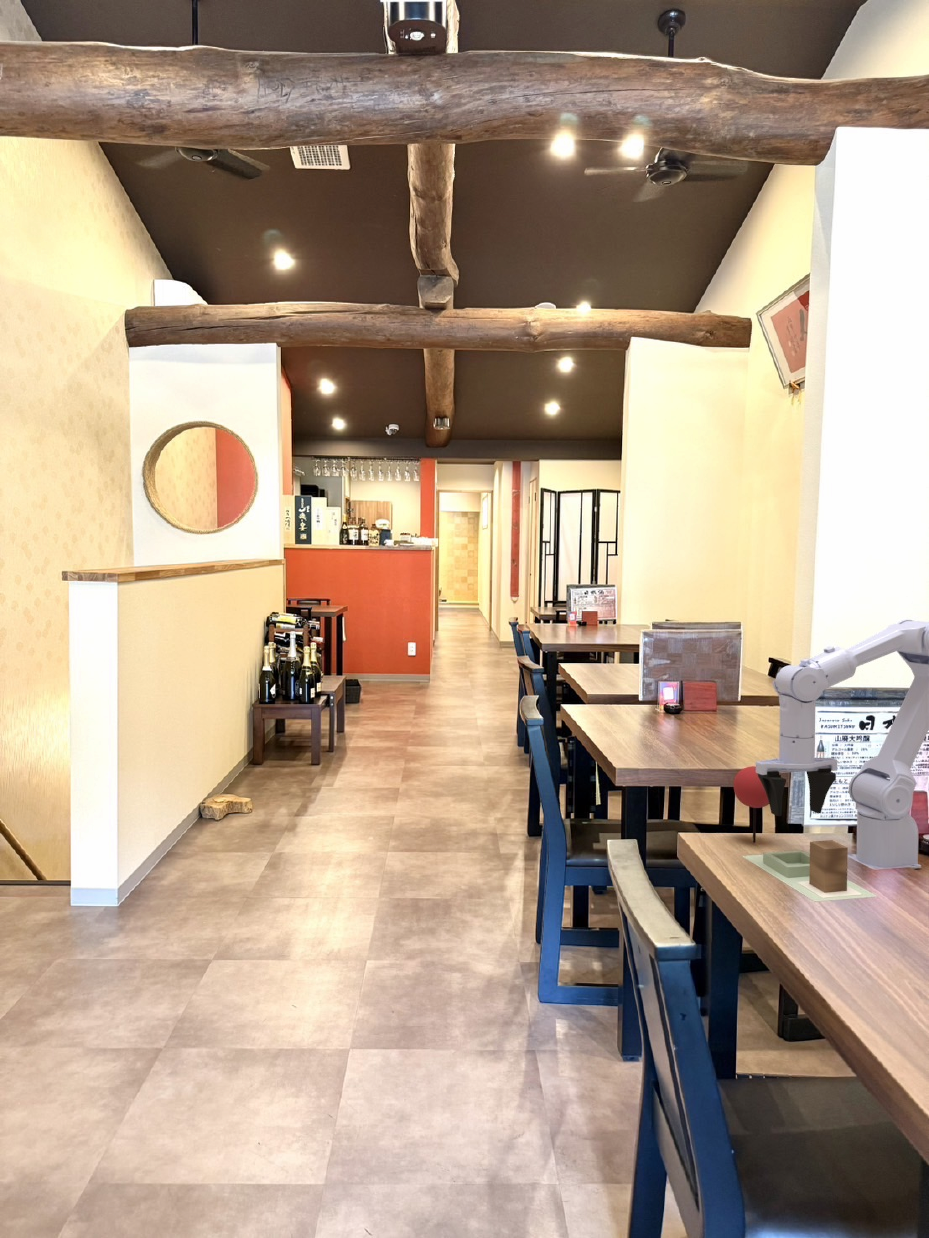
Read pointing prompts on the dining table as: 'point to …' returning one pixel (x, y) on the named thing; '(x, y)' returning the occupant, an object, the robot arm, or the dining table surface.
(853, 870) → the dining table surface
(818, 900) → the pocket board
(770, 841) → the dining table surface
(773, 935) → the dining table surface
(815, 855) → the walnut post
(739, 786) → the lollipop
